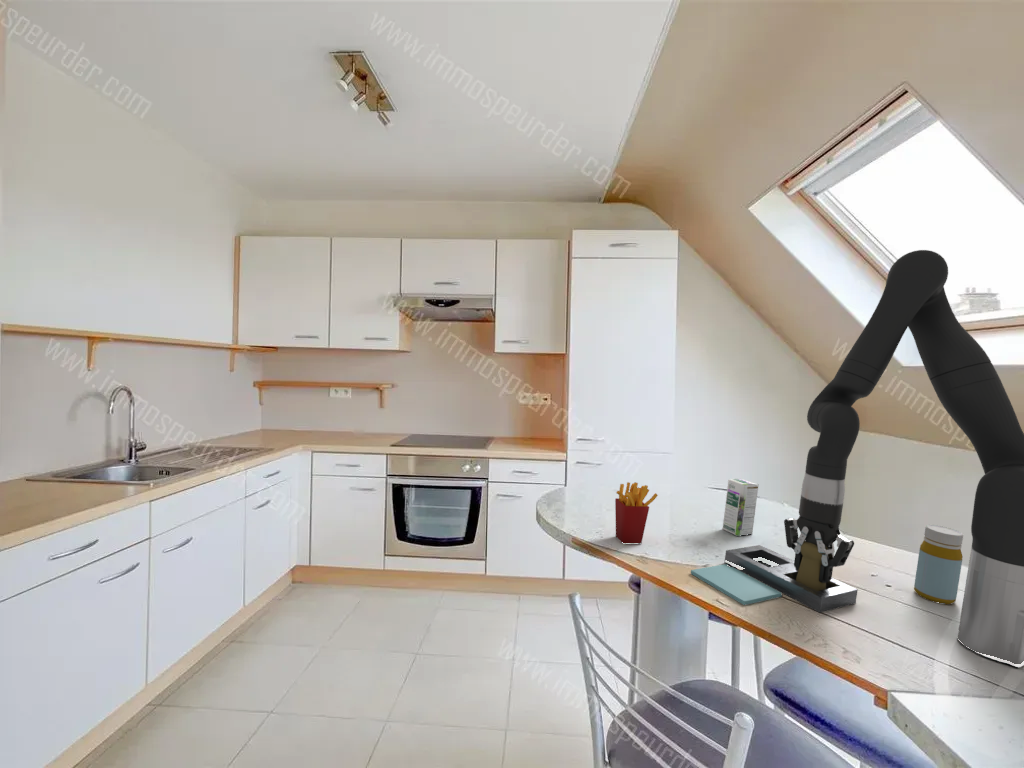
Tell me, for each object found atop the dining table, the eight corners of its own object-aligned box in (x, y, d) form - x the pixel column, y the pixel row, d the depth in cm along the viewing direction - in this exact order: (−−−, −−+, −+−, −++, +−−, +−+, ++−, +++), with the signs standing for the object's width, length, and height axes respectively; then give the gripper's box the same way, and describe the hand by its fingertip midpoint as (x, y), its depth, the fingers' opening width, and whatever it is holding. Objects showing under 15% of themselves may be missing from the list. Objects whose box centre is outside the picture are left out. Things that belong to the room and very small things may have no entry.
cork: (831, 603, 103) (838, 551, 102) (798, 598, 104) (805, 546, 103) (819, 589, 109) (825, 539, 108) (788, 584, 110) (795, 535, 109)
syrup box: (721, 529, 142) (727, 478, 141) (736, 527, 145) (742, 477, 143) (738, 537, 137) (744, 484, 136) (753, 535, 139) (759, 483, 138)
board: (781, 596, 104) (781, 593, 104) (744, 605, 99) (744, 601, 99) (726, 567, 117) (726, 563, 117) (690, 573, 112) (691, 570, 112)
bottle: (939, 606, 105) (950, 536, 104) (905, 590, 112) (915, 524, 110) (963, 604, 107) (974, 535, 106) (928, 588, 114) (938, 523, 112)
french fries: (621, 545, 125) (626, 486, 123) (608, 532, 133) (613, 477, 131) (654, 545, 126) (660, 487, 125) (639, 532, 134) (645, 477, 133)
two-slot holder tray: (855, 603, 104) (857, 589, 103) (819, 612, 99) (821, 598, 98) (758, 556, 124) (759, 545, 124) (724, 562, 119) (725, 550, 119)
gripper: (869, 507, 100) (857, 589, 101) (801, 486, 113) (791, 559, 114) (846, 510, 97) (834, 595, 98) (778, 488, 109) (769, 564, 111)
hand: (811, 575), depth 106 cm, fingers closed on cork, 4 cm apart
